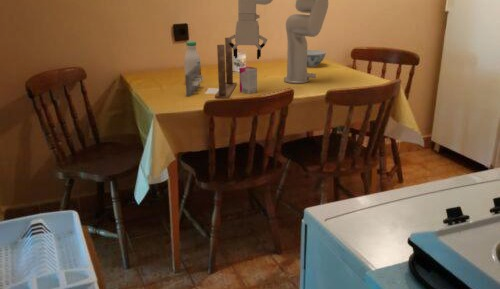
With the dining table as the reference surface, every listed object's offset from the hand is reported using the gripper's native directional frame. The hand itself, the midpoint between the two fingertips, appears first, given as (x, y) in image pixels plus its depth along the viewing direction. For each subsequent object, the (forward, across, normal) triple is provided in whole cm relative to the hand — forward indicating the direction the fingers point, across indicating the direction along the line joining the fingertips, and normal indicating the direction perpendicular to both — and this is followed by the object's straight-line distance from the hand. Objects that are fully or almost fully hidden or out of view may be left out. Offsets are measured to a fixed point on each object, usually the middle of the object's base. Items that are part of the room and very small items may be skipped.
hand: (247, 58), depth 195 cm
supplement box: (+16, -1, -1) cm, 16 cm away
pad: (+16, +13, -1) cm, 21 cm away
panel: (+16, +23, -1) cm, 28 cm away
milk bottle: (+16, +28, -18) cm, 37 cm away
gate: (+15, +9, -1) cm, 18 cm away
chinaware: (+14, -30, -63) cm, 71 cm away
